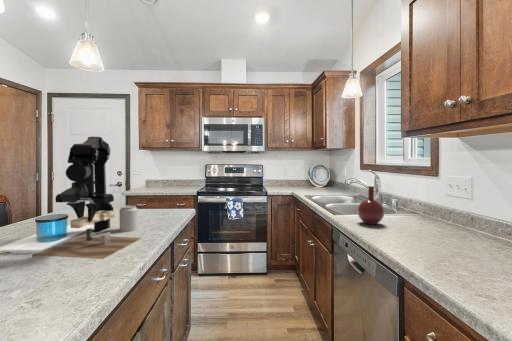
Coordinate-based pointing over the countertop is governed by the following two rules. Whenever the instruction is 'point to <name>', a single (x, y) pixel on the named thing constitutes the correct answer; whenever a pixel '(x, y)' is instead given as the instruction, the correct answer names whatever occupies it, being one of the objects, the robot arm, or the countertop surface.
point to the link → (97, 217)
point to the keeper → (104, 235)
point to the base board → (88, 247)
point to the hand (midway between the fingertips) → (85, 221)
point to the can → (128, 218)
